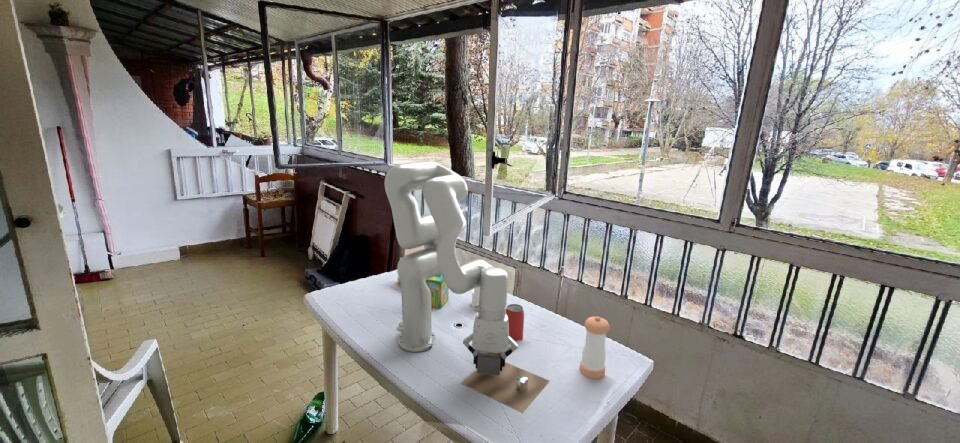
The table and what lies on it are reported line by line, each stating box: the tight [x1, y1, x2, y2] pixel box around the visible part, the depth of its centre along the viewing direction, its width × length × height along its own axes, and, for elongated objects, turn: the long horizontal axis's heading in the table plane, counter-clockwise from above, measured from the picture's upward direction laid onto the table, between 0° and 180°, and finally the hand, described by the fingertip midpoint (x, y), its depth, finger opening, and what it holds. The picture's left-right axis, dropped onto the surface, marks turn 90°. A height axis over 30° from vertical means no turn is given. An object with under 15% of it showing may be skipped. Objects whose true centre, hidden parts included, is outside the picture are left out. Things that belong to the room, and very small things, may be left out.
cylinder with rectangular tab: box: [471, 287, 480, 309], centre depth 164 cm, size 9×9×12 cm
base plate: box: [460, 361, 551, 414], centre depth 116 cm, size 20×16×2 cm
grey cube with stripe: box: [477, 351, 501, 375], centre depth 118 cm, size 6×6×5 cm
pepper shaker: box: [579, 316, 611, 379], centre depth 120 cm, size 7×7×19 cm
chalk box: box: [426, 273, 450, 309], centre depth 165 cm, size 9×9×15 cm
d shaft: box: [516, 376, 528, 393], centre depth 113 cm, size 3×3×3 cm
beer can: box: [506, 303, 525, 342], centre depth 139 cm, size 7×7×12 cm
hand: (489, 366), depth 119 cm, fingers closed on grey cube with stripe, 6 cm apart
